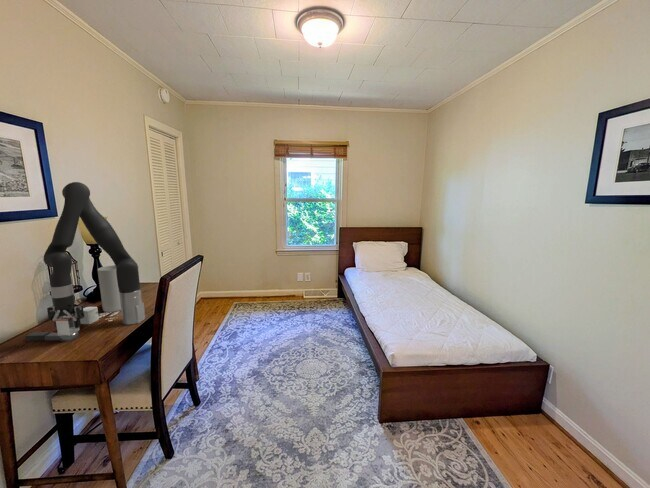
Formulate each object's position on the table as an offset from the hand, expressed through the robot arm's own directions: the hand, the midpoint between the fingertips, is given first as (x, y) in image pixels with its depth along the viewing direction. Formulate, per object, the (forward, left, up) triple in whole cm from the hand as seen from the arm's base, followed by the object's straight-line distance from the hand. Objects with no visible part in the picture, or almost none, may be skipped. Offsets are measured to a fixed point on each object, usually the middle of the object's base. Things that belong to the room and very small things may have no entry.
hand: (68, 327), depth 130 cm
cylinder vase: (+3, -36, -6) cm, 37 cm away
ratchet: (+7, 0, -5) cm, 9 cm away
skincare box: (+5, -18, -6) cm, 20 cm away
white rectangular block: (0, 0, -3) cm, 3 cm away
